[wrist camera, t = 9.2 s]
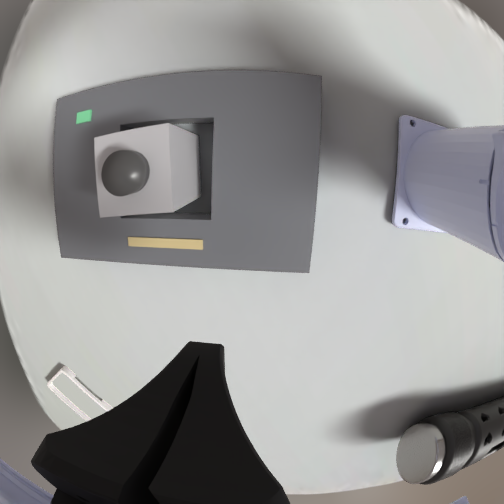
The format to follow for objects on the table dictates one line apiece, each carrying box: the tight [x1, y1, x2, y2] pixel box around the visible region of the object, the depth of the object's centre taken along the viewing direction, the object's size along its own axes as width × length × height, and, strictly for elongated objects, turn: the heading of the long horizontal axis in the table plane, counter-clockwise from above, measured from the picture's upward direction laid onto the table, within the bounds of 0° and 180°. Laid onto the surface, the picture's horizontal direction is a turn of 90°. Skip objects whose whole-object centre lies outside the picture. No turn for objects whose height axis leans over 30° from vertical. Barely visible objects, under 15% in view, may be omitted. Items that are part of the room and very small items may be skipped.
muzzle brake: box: [396, 397, 504, 485], centre depth 20 cm, size 10×28×10 cm, turn 80°
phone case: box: [47, 366, 113, 421], centre depth 26 cm, size 7×1×15 cm
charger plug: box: [94, 123, 201, 218], centre depth 13 cm, size 4×4×7 cm
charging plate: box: [53, 70, 322, 273], centre depth 16 cm, size 18×12×2 cm, turn 88°
